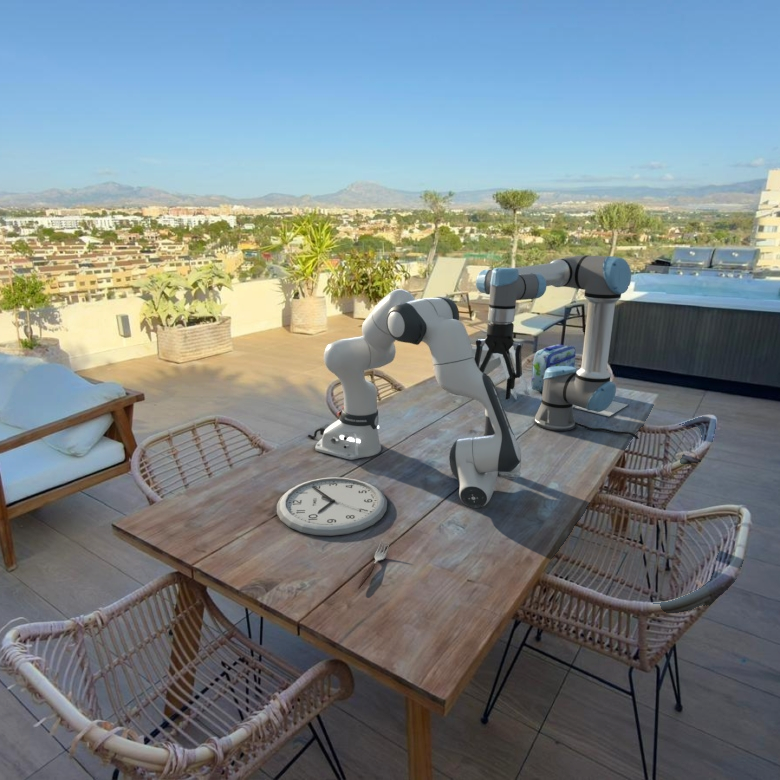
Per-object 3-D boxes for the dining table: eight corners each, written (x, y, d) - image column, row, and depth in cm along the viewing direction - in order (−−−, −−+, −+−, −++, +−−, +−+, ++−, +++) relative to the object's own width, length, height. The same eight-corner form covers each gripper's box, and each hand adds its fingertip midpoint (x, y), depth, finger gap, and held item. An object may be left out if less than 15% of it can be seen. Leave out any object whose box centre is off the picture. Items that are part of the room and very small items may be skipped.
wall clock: (392, 527, 129) (268, 531, 127) (391, 533, 130) (269, 537, 127) (383, 473, 158) (282, 475, 155) (383, 478, 158) (282, 480, 156)
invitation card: (608, 416, 214) (573, 407, 224) (608, 416, 214) (573, 408, 224) (628, 404, 229) (594, 396, 238) (628, 405, 229) (594, 397, 238)
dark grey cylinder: (480, 470, 165) (485, 412, 159) (483, 464, 169) (487, 407, 163) (494, 472, 164) (499, 414, 158) (497, 466, 168) (502, 409, 162)
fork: (352, 589, 110) (352, 581, 109) (380, 547, 124) (380, 540, 123) (364, 592, 109) (364, 583, 108) (390, 550, 123) (390, 542, 123)
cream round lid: (483, 416, 160) (484, 411, 159) (486, 411, 164) (486, 406, 164) (500, 418, 158) (500, 413, 157) (502, 413, 162) (503, 408, 162)
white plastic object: (461, 429, 252) (437, 405, 227) (444, 352, 274) (420, 323, 250) (535, 404, 240) (518, 377, 215) (510, 326, 262) (492, 293, 237)
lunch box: (547, 397, 237) (552, 352, 231) (526, 391, 245) (531, 348, 238) (574, 386, 255) (580, 344, 249) (554, 381, 262) (559, 340, 256)
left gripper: (520, 468, 146) (524, 449, 159) (448, 457, 152) (457, 439, 165) (518, 488, 148) (522, 467, 161) (447, 476, 154) (456, 458, 166)
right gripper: (538, 323, 151) (530, 398, 158) (471, 317, 160) (466, 388, 167) (533, 327, 145) (525, 405, 152) (463, 320, 153) (459, 395, 160)
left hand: (489, 453), depth 163 cm, fingers open, 8 cm apart
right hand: (494, 396), depth 159 cm, fingers open, 7 cm apart
